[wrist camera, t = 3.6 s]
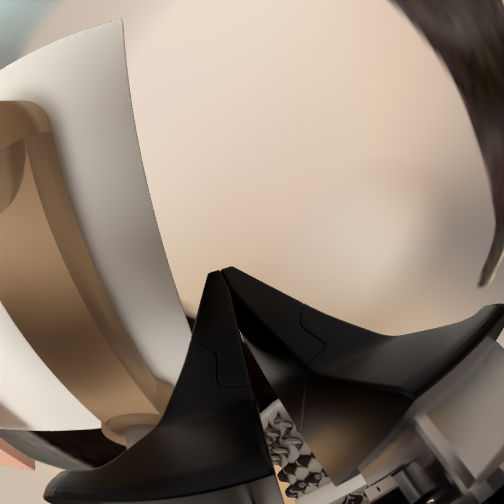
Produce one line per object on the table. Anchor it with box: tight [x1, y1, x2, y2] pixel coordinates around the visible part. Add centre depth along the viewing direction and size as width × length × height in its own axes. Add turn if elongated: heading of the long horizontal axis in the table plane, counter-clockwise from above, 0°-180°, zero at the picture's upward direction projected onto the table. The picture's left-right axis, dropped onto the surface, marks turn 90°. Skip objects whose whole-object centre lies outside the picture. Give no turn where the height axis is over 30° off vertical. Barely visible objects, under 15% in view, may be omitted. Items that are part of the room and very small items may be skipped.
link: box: [0, 100, 174, 449], centre depth 8 cm, size 17×4×3 cm, turn 6°
